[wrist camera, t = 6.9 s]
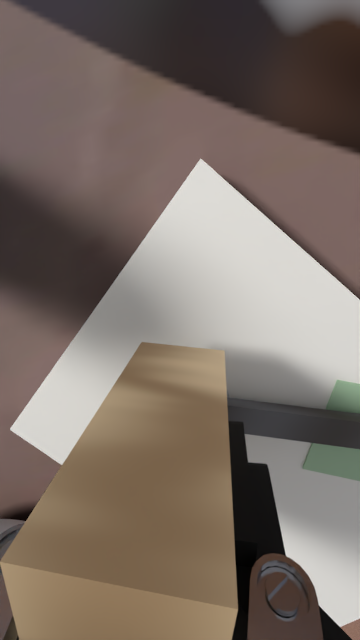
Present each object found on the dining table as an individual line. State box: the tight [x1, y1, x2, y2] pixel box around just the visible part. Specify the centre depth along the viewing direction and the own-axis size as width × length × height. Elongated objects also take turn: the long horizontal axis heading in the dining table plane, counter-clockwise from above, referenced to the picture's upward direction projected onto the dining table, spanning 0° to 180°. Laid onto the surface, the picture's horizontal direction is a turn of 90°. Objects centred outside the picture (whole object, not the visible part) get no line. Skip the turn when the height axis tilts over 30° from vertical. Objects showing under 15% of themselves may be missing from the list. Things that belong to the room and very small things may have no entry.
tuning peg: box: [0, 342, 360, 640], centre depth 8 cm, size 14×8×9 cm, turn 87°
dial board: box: [10, 159, 360, 627], centre depth 15 cm, size 18×24×2 cm
